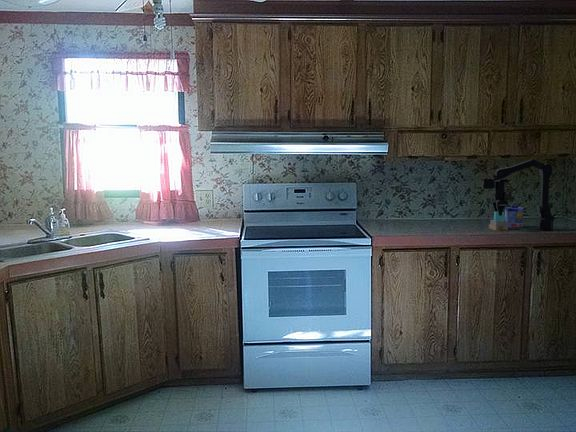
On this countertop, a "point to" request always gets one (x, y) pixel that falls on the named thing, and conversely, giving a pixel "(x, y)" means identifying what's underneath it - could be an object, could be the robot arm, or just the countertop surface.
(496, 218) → the teal cube
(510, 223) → the ink cartridge box
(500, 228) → the tower base
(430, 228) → the countertop surface
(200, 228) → the countertop surface
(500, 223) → the tower top
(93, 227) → the countertop surface
